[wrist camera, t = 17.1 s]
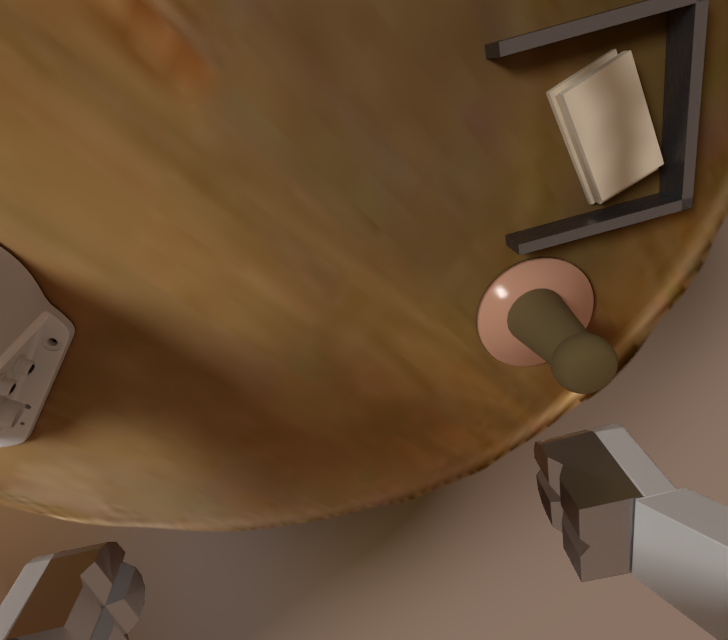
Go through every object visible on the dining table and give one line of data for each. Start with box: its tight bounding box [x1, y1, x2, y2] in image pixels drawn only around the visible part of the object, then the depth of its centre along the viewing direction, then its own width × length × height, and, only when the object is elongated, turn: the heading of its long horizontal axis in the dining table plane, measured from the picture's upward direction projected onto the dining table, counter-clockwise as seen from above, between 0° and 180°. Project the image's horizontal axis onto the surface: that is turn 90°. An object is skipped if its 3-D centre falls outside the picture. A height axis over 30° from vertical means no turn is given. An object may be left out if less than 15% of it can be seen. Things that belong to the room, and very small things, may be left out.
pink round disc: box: [476, 257, 594, 366], centre depth 49 cm, size 12×12×1 cm
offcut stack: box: [546, 49, 664, 204], centre depth 41 cm, size 6×11×3 cm, turn 32°
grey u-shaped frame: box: [485, 0, 709, 255], centre depth 40 cm, size 16×17×3 cm
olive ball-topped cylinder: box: [507, 288, 618, 394], centre depth 43 cm, size 6×6×11 cm
